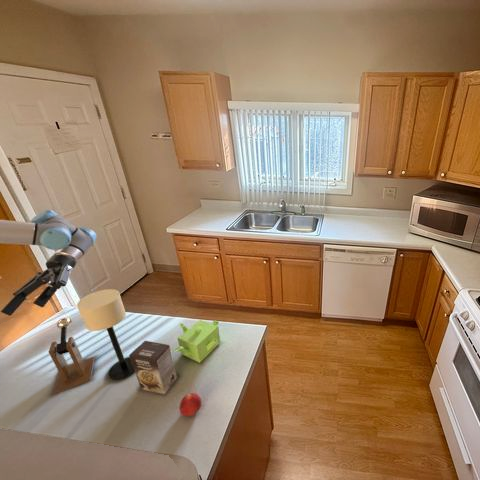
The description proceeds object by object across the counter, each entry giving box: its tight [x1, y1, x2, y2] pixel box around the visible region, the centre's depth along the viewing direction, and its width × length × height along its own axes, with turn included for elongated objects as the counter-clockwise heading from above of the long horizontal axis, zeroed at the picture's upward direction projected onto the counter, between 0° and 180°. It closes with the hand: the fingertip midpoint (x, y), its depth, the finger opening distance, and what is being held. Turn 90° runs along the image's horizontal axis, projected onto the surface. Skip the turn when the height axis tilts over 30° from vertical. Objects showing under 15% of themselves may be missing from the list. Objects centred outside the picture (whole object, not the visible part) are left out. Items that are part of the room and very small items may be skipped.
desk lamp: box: [76, 288, 135, 381], centre depth 83 cm, size 10×10×31 cm
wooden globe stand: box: [48, 336, 96, 395], centre depth 84 cm, size 11×9×15 cm
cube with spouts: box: [174, 319, 221, 363], centre depth 97 cm, size 15×14×11 cm
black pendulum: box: [56, 317, 73, 355], centre depth 84 cm, size 12×4×4 cm, turn 33°
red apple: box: [179, 392, 202, 417], centre depth 76 cm, size 6×6×8 cm
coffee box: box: [128, 340, 178, 395], centre depth 82 cm, size 9×6×16 cm
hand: (21, 309), depth 82 cm, fingers open, 13 cm apart
